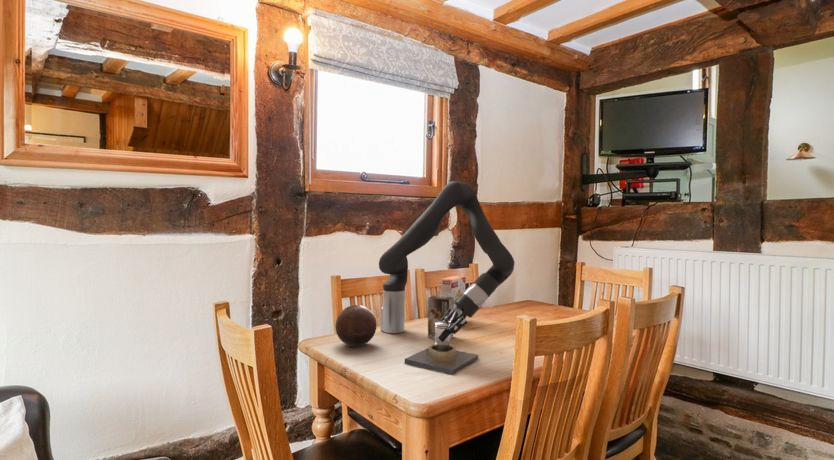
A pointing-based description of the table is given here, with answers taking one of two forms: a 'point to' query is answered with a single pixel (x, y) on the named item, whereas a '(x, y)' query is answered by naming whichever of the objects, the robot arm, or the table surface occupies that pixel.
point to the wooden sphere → (355, 325)
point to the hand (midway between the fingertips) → (437, 337)
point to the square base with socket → (442, 360)
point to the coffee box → (437, 311)
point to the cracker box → (453, 287)
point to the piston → (439, 328)
